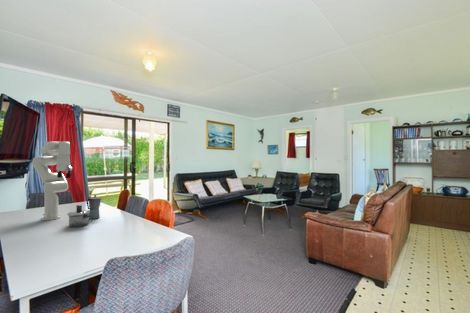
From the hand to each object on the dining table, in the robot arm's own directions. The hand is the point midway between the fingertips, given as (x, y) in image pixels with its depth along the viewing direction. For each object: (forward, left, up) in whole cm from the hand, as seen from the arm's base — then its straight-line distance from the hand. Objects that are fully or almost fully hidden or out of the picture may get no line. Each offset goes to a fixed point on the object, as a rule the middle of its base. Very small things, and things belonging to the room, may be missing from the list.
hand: (63, 177), depth 186 cm
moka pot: (+11, +18, -36) cm, 42 cm away
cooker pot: (+18, -1, -36) cm, 41 cm away
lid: (+18, -1, -27) cm, 33 cm away
